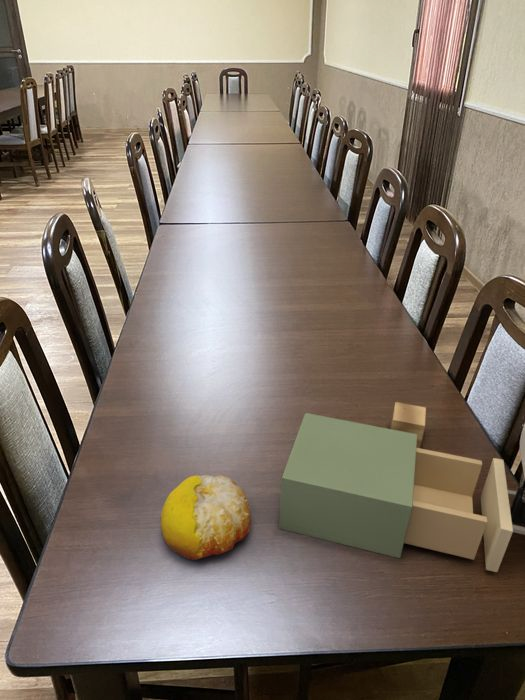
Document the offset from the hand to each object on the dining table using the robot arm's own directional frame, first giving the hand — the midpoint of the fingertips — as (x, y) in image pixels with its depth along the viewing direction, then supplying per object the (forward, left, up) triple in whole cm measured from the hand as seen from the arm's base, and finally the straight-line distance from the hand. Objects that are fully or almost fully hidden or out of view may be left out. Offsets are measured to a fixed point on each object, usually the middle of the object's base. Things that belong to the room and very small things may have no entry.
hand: (524, 520), depth 62 cm
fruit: (+36, +9, -4) cm, 37 cm away
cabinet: (+21, 0, -4) cm, 21 cm away
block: (+14, -16, -4) cm, 22 cm away
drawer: (+7, 0, -3) cm, 7 cm away
